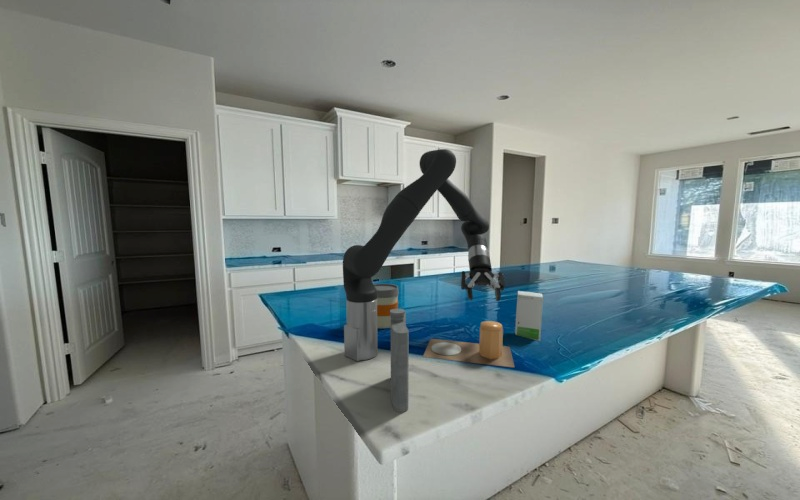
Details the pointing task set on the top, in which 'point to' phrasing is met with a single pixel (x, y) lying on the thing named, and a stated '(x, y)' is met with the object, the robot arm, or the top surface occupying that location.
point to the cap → (491, 339)
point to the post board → (465, 353)
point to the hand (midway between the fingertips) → (484, 299)
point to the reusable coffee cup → (386, 303)
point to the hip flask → (399, 360)
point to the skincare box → (529, 315)
